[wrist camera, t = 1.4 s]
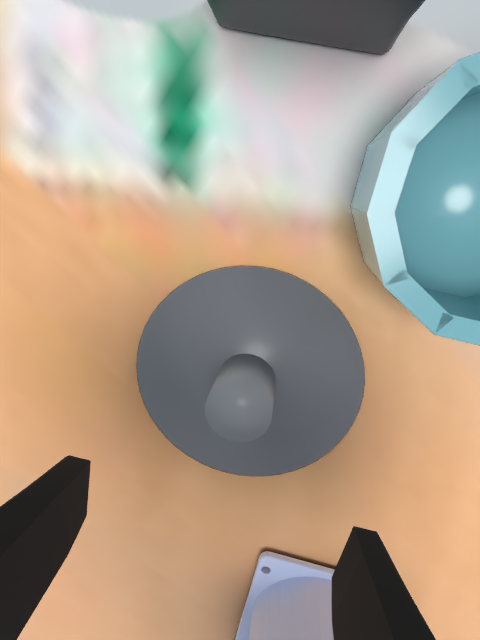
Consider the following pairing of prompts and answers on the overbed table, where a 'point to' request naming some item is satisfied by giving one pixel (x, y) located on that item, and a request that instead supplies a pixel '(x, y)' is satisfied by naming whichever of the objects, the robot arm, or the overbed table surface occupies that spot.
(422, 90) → the bowl
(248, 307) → the lid
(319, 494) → the overbed table surface
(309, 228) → the overbed table surface
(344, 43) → the battery charger
